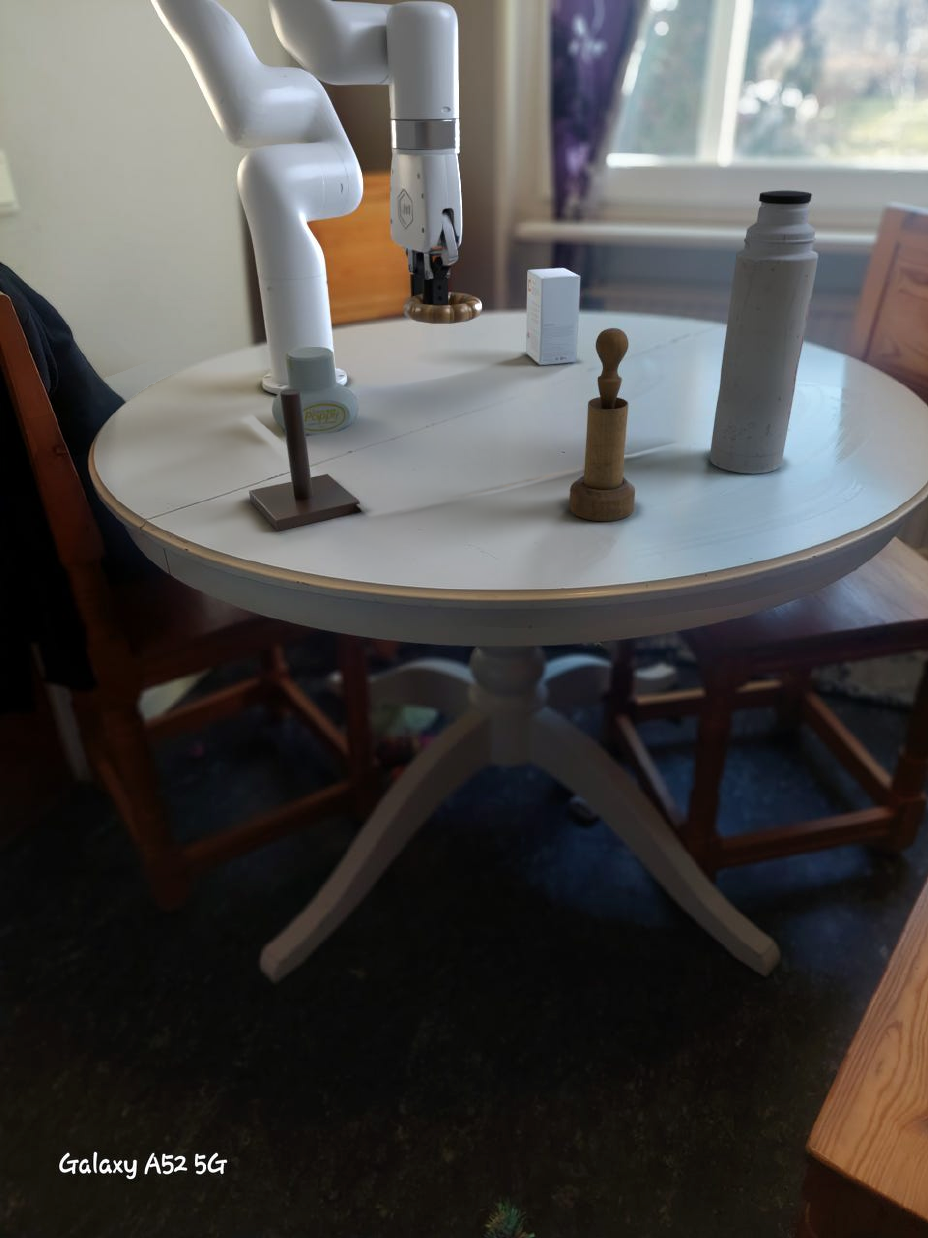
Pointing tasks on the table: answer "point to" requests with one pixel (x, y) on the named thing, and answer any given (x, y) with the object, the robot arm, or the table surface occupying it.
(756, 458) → the thermos bottle
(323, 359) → the air freshener
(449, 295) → the lobed golden ring
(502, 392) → the table surface
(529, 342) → the small box
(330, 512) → the peg stand
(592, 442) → the mortar and pestle
